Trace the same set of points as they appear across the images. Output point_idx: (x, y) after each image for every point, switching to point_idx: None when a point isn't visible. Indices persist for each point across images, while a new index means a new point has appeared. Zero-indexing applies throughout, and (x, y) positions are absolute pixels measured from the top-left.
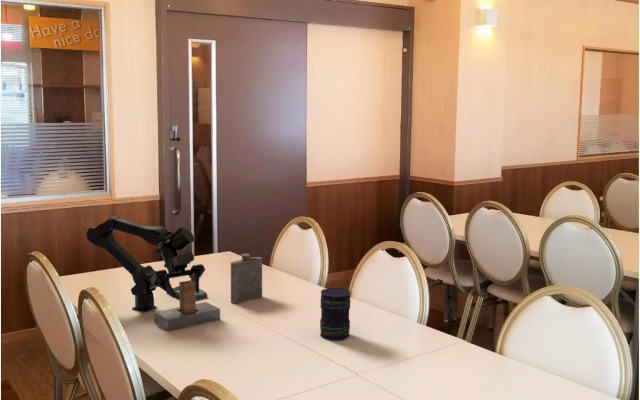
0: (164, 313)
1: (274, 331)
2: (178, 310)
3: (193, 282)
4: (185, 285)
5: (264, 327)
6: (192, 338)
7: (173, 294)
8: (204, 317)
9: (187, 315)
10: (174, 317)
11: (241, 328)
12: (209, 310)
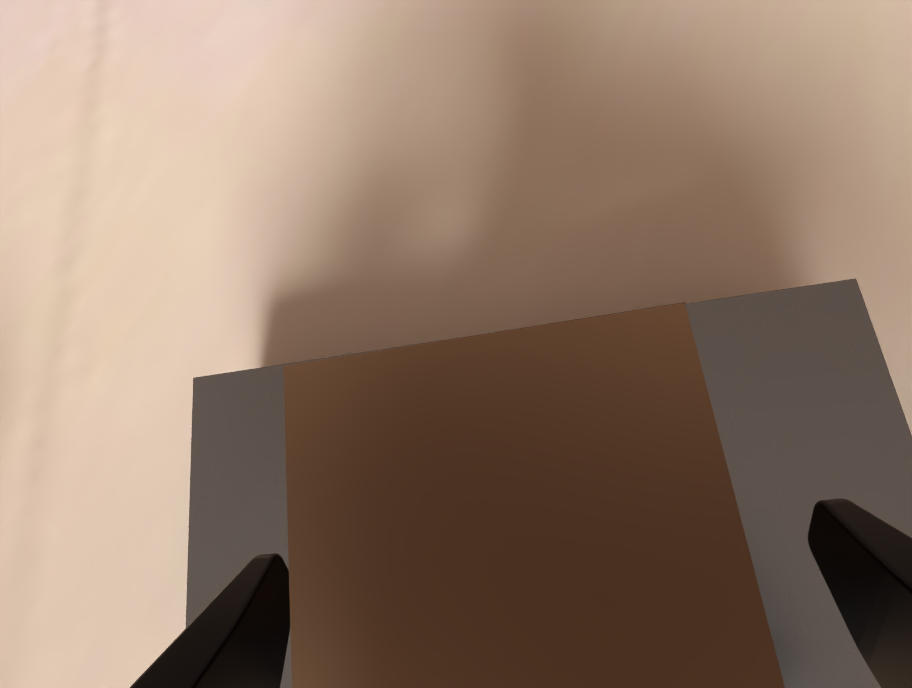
0: None
1: (106, 24)
2: None
3: (310, 444)
4: (654, 316)
5: (106, 105)
6: (630, 89)
7: (883, 523)
8: None
9: None
10: (756, 320)
11: (233, 144)
12: None
